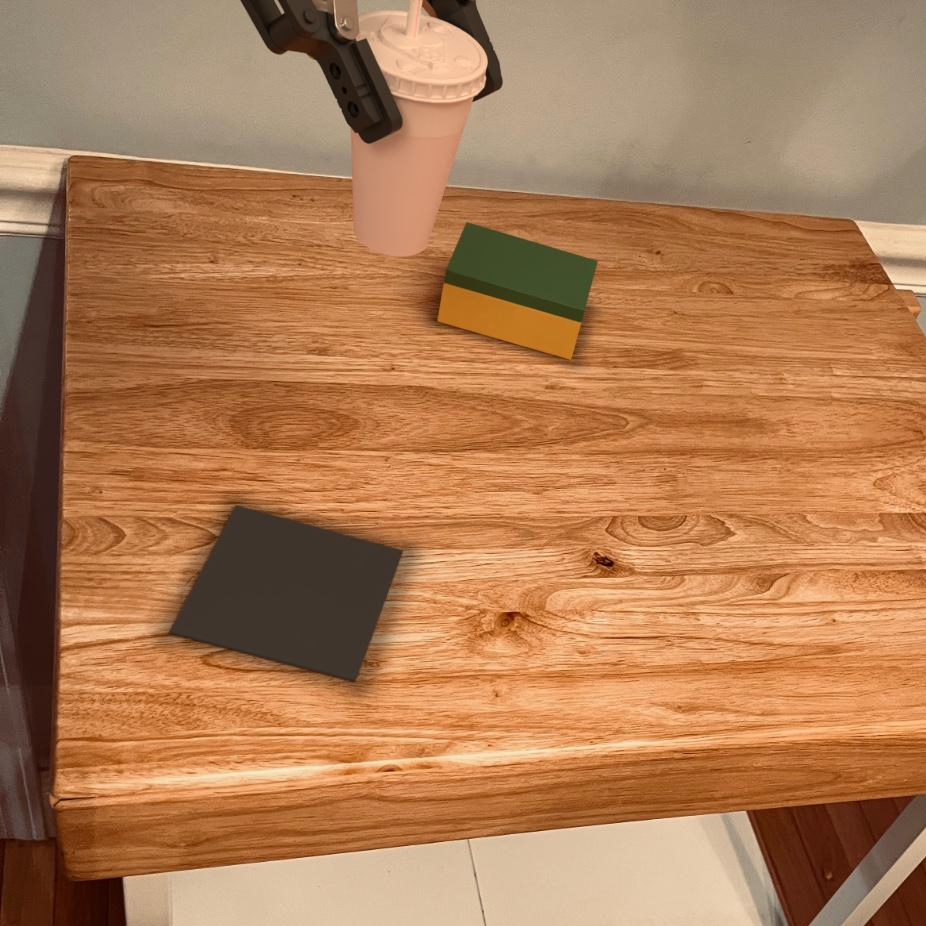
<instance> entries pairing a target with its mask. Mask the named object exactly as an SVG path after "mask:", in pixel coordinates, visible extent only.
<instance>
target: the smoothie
mask: <svg viewBox="0 0 926 926" xmlns="http://www.w3.org/2000/svg"><path fill="white" fill-rule="evenodd" d="M422 1H423V0H409V1H408V8H407V10H401V9H399V10H398V9H379V10H371V11H367V12H363V13H361V14H358V21H359V34H358V36H357V37H356V40H357V41H360V40H363V39H366V38H367V41H368V43H369V45H370V47H371V49H372V52H373V54H374V56H375V58H376V60H377V63H378V65H379V67H380V69H381V71H382V74H383V76H384V78H385V80H386V83H387V85H388V87H389V89H390V91H391V94H392V96H393V98H394V100H395V102H396V105H397V107H398V109H399V111H400V113H401V116H402V119H403V125H402V128H401V129H400V130H398V131H396V132H395V133H393V134H391V135H389V136H387V137H385V138H383V139H381V140H378V141H376V142H373V143H371V144H367V143H365V142H364V141H363V140H362V139H361V138H360V136H359V134H358V133H355V132H354V131H353V130H352V128H351V127H350V153H351V154H350V157H351V184H352V185H351V187H352V218H353V220H352V221H353V233H354V235H355V238H356V239H357V240H358V241H359V242H360V243H361V244H362V245H363V246H365V247H366V248H367V249H369V250H371V251H373V252H376V253H378V254H381V255H384V256H389V257H396V258H397V257H399V258H401V257H403V258H404V257H411V256H415V255H418V254H420V253H422V252H423V251H425V250H426V248H427V247H428V245H429V241H430V238H431V235H432V232H433V229H434V226H435V222H436V220H437V217H438V213H439V209H440V206H441V203H442V201H443V198H444V197H443V196H444V193H445V191H446V189H447V184H448V181H449V179H450V174H451V170H452V168H453V165H454V162H455V159H456V155H457V153H458V150H459V145H460V142H461V139H462V136H463V133H464V130H465V127H466V124H467V121H468V118H469V114H470V111H471V107H472V104H473V102H472V101H473V98H474V96H476V95H478V94H479V93H480V91H481V90H482V89H483V88H484V86H485V81H486V76H485V73H486V68H487V63H488V61H487V56H486V53H485V51H484V50H483V48H482V47H481V46H480V44H479V43H478V42H477V41H476V40H475V39H474V38H472V37H471V36H470V35H469V34H467V33H466V32H464V31H463V30H461V29H459V28H458V27H456V26H454V25H452V24H450V23H448V22H445V21H442V20H440V19H437V18H434V17H431V16H430V15H427V14H423V13H422V9H423V7H422Z"/></svg>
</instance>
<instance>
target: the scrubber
mask: <svg viewBox="0 0 926 926" xmlns="http://www.w3.org/2000/svg"><path fill="white" fill-rule="evenodd" d="M597 266H598V260H597V259H594V258H590V257H587V256H584V255H580V254H577V253H572V252H570V251H566V250H563V249H560V248H556V247H552V246H550V245H546V244H542V243H540V242H535V241H533V240H529V239H527V238H522V237H519V236H515V235H512V234H509V233H506V232H502V231H498V230H495V229H492V228H488V227H485V226H482V225H478V224H475V223H472V222H468V221H466V222H465V224H464V227H463V229H462V232H461V234H460V236H459V238H458V241H457V243H456V245H455V247H454V249H453V252H452V255H451V256H450V260H449V262H448V264H447V266H446V269H445V273H444V279H443V285H442V290H441V297H440V303H439V308H438V315H437V322H438V323H441V324H445V325H448V326H452V327H454V328H459V329H462V330H466V331H469V332H473V333H477V334H479V335H483V336H486V337H490V338H493V339H497V340H500V341H504V342H507V343H511V344H514V345H518V346H521V347H525V348H528V349H531V350H535V351H538V352H541V353H545V354H549V355H552V356H555V357H559V358H563V359H566V360H569V361H571V360H572V359H573V354H574V350H575V347H576V343H577V339H578V335H579V334H580V329H581V326H582V322H583V318H584V315H585V310H586V307H587V304H588V300H589V295H590V293H591V289H592V284H593V281H594V277H595V273H596V270H597Z"/></svg>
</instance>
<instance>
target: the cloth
mask: <svg viewBox="0 0 926 926" xmlns="http://www.w3.org/2000/svg"><path fill="white" fill-rule="evenodd" d="M403 551H404V550H402V549H399V548H395V547H393V546H388V545H384V544H381V543H378V542H373V541H371V540H370V541H369V540H366V539H362V538H359V537H355V536H351V535H348V534H344V533H340V532H336V531H333V530H330V529H325V528H322V527H318V526H315V525H311V524H307V523H303V522H300V521H296V520H292V519H289V518H286V517H281V516H278V515H274V514H270V513H267V512H263V511H259V510H256V509H252V508H248V507H244V506H241V505H237V504H236V505H234V507H233V509H232V512H231V514H230V515H229V517H228V519H227V521H226V523H225V525H224V526H223V529H222V531H221V532H220V534H219V536H218V538H217V540H216V542H215V543H214V546H213V548H212V550H211V552H210V554H208V557H207V559H206V561H205V563H204V565H203V566H202V569H201V571H200V572H199V575H198V576H197V578H196V579H195V582H194V584H193V586H192V588H191V590H190V592H189V593H188V596H187V597H186V600H185V601H184V603H183V605H182V607H181V609H180V611H179V613H178V615H177V617H176V618H175V621H174V622H173V624H172V626H171V627H170V630H169V634H170V635H175V636H178V637H182V638H186V639H189V640H193V641H196V642H200V643H205V644H208V645H212V646H217V647H220V648H224V649H228V650H231V651H235V652H239V653H242V654H247V655H250V656H254V657H257V658H261V659H264V660H265V659H266V660H270V661H274V662H277V663H281V664H285V665H288V666H293V667H295V668H296V667H297V668H300V669H304V670H306V671H307V670H308V671H312V672H315V673H319V674H323V675H326V676H330V677H333V678H338V679H342V680H346V681H349V682H353V683H356V682H357V678H358V676H359V672H360V670H361V668H362V665H363V663H364V659H365V657H366V654H367V651H368V649H369V647H370V643H371V640H372V638H373V635H374V632H375V629H376V627H377V624H378V621H379V619H380V615H381V613H382V611H383V607H384V605H385V602H386V599H387V596H388V594H389V591H390V588H391V585H392V583H393V580H394V577H395V574H396V571H397V569H398V566H399V564H400V561H401V558H402V555H403Z"/></svg>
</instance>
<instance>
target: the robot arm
mask: <svg viewBox="0 0 926 926" xmlns="http://www.w3.org/2000/svg"><path fill="white" fill-rule="evenodd" d="M239 1H240V2H241V4H242V6H243V9H245V11H246V13H247V15H248V17H249V19H250V20H251V22H252V24H253V25H254V27H255V29H256V31H257V33H258V34H259V36H260V38H261V40H262V42H263V44H264V45H265V46H266V48H267V49H268V50H269V51H270V52H271V53H272V54H274V55H278V56H279V55H280V56H281V55H284V54H286V53H287V52H295V53H302V54H306V55H307V57H309V58H310V59H312V60H313V61H316V63H318V65H319V67H320V69H321V71H322V73H323V75H324V77H325V79H326V81H327V85H328V86H329V88H330V90H331V92H332V94H333V96H334V99H336V103H337V105H338V107H339V109H340V110H341V114H342V115H343V118H344V120H345V122H346V124H347V125H348V126H349V128H350V129H351V128H352V130H353V131H354V132H355V133H358V134H359V136H360V138H361V139H362V140H363V141H364V142H365V143H367V144H371V143H373V142H376V141H378V140H381V139H383V138H385V137H387V136H389V135H391V134H393V133H395V132H396V131H398V130H400V129H401V128H402V125H403V119H402V116H401V113H400V111H399V109H398V107H397V105H396V102H395V100H394V98H393V96H392V94H391V91H390V89H389V87H388V85H387V83H386V80H385V78H384V76H383V74H382V71H381V69H380V67H379V65H378V63H377V60H376V58H375V56H374V54H373V52H372V49H371V47H370V45H369V43H368V41H367V38H366V39H363V40H360V41H357V40H356V37H357V36H358V34H359V21H358V16H359V12H358V11H359V10H358V0H277V2H278V3H279V5H280V7H281V9H282V11H283V12H281V10H280V8H279V7H278V5H277V3H276V1H275V0H239ZM422 9H423V10H424V11H425V12H426V13H427V14H428V16H431V17H434V18H437V19H440V20H442V21H445V22H448V23H450V24H452V25H454V26H456V27H458V28H459V29H461V30H463V31H464V32H466V33H467V34H469V35H470V36H471V37H472V38H474V39H475V40H476V41H477V42H478V43H479V44H480V46H481V47H482V48H483V50H484V51H485V53H486V56H487V61H488V63H487V68H486V73H485V76H486V81H485V86H484V88H483V89H482V90H481V91H480V93H479V94H478V95H476V96H474V98H473V101H472V103H474V102H477V101H479V100H482V99H484V98H485V97H487V96H489V95H492V94H494V93H495V92H497V91H499V90H501V89H502V87H503V84H504V81H503V79H504V78H503V76H502V69H501V64H500V60H499V58H498V56H497V52H496V50H495V49H494V46H493V43H492V41H491V38H490V36H489V34H488V31H487V29H486V27H485V24H484V21H483V19H482V17H481V15H480V12H479V9H478V6H477V0H423V1H422Z"/></svg>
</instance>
